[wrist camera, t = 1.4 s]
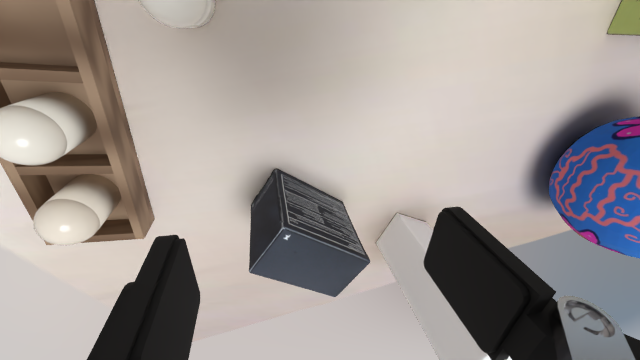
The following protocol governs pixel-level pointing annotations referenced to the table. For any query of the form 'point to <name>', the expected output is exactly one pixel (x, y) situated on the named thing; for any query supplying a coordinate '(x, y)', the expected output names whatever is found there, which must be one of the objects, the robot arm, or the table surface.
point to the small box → (303, 237)
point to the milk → (425, 289)
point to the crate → (83, 83)
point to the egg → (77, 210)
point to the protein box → (626, 19)
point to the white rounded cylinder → (180, 12)
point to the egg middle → (44, 128)
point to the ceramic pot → (602, 186)
